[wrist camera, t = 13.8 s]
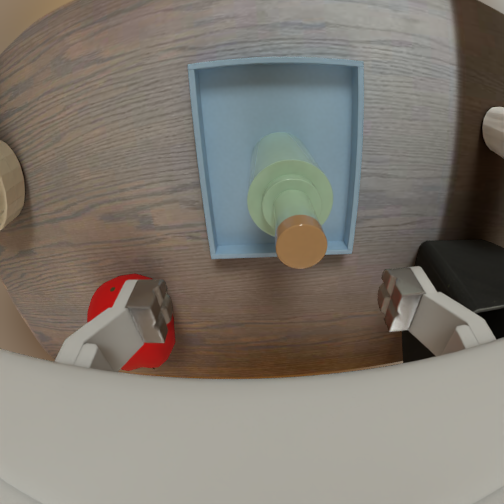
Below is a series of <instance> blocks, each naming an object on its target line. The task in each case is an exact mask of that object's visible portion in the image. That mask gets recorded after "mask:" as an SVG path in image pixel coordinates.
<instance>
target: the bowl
mask: <svg viewBox="0 0 504 504" xmlns="http://www.w3.org/2000/svg"><path fill="white" fill-rule="evenodd" d="M24 198H25V185H24V177H23V174H22V170H21V166H20V164H19V161H18V159H17V157H16V155H15V153H14V152H13V151H12V149H11V148H10V147H9V146H8V145H7V144H6V143H5V142H3V141H2V140H0V231H1V230H2V229H3V228H4V227H5V226H6V225H8V224H9V223H10V222H11V221H12V220H14V219H15V218H16V217H17V216H18V215H19V214H20V212H21V210H22V208H23V205H24Z"/></svg>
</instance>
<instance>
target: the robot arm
mask: <svg viewBox="0 0 504 504" xmlns="http://www.w3.org/2000/svg"><path fill="white" fill-rule="evenodd" d="M382 280H383V282H384V283H383V284H382V285H381V286H380V287H379V290H378V305H379V308H380V311H381V312H383V313H384V314H386V315H385V318H384V320H385V323H386V325H387V328H388V330H389V332H395V331H404V330H409V332H410V333H411V334H412V335H414V336H415V337H416V338H417V339H418V340H419V341H420V342H421V343H422V344H423V345H424V346H426V347H427V348H428V349H429V350H430V351H431V352H432V353H433V354H434V355H435V356H436V357H431V358H427V359H422V360H417V361H412V362H407V363H402V364H397V365H391V366H385V367H379V368H372V369H366V370H358V371H351V372H343V373H334V374H324V375H313V376H302V377H286V378H263V379H200V378H199V379H198V378H178V377H162V376H150V375H139V374H130V373H121V372H118V371H119V370H120V369H121V368H122V367H123V366H124V365H125V364H126V363H127V361H128V360H129V359H130V358H131V357H132V356H133V355H134V354H135V353H136V352H137V351H138V350H139V349H140V348H141V347H142V346H143V345H144V343H165V340H166V336H167V333H168V328H167V324H168V323H169V322H170V321H171V318H172V311H173V307H172V301H171V298H170V296H168V295H167V294H166V291H167V285H166V282H165V281H164V280H156V279H139V280H127V281H125V283H124V285H123V287H122V289H121V291H120V293H119V295H118V297H117V299H116V300H115V302H114V304H113V307H112V308H107V309H106V310H105V311H103V312H102V313H101V314H99V315H98V316H96V317H95V318H94V319H92V320H91V321H90V322H88V323H87V324H85V325H84V326H83V327H81V328H80V329H79V330H77V331H76V332H75V333H73V334H72V335H71V336H69V337H68V338H67V339H65V341H64V343H63V345H62V347H61V349H60V351H59V353H58V355H57V357H56V359H55V361H54V362H53V361H48V360H44V359H39V358H35V357H30V356H27V355H23V354H19V353H15V352H11V351H8V350H4V349H1V348H0V504H504V337H503V338H500V339H497V340H496V338H495V336H494V335H493V333H492V331H491V330H490V328H489V326H488V325H487V323H486V321H485V320H484V319H483V318H482V317H480V316H479V315H477V314H475V313H474V312H472V311H471V310H469V309H467V308H466V307H464V306H463V305H461V304H460V303H458V302H456V301H455V300H453V299H451V298H450V297H448V296H446V295H445V294H443V293H442V292H437V291H436V289H435V288H434V286H433V284H432V283H431V281H430V280H429V278H428V277H427V275H426V274H425V272H424V271H423V269H422V268H421V267H420V266H414V267H407V268H396V269H385V270H384V272H383V274H382Z"/></svg>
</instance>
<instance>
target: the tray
mask: <svg viewBox="0 0 504 504" xmlns="http://www.w3.org/2000/svg"><path fill="white" fill-rule="evenodd" d="M363 67H364V62H363V61H354V60H344V59H332V58H315V57H258V58H241V59H228V60H218V61H209V62H201V63H194V64H188V77H189V88H190V98H191V108H192V118H193V127H194V136H195V144H196V153H197V161H198V169H199V177H200V184H201V192H202V199H203V206H204V214H205V220H206V227H207V234H208V241H209V247H210V253H211V259H228V258H255V257H278V256H277V254H276V247H275V237H274V236H271V235H269V234H267V233H266V232H264V231H263V230H261V229H260V228H259V227H258V226H257V225H256V224H255V222H254V221H253V219H252V218H251V216H250V213H249V210H248V205H247V195H248V184H249V173H250V162H251V154H252V151H253V148H254V146H255V145H256V144H257V142H258V141H259V140H260V139H261V138H263V137H264V136H266V135H268V134H271V133H275V132H285V133H289V134H292V135H294V136H296V137H297V138H299V139H300V140H301V141H302V142H303V143H304V145H305V146H306V148H307V149H308V151H309V152H310V153H311V155H312V156H313V158H314V159H315V161H316V162H317V164H318V165H319V167H320V168H321V169H322V171H323V172H324V174H325V176H326V177H327V179H328V180H329V182H330V184H331V187H332V191H333V206H332V209H331V212H330V214H329V216H328V218H327V220H326V221H325V222H324V224H323V225H322V228H323V230H324V233H325V236H326V238H327V251H326V253H325V255H332V254H352V249H353V241H354V234H355V226H356V217H357V208H358V198H359V188H360V176H361V162H362V145H363V121H364V68H363Z"/></svg>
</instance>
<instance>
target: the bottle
mask: <svg viewBox="0 0 504 504" xmlns="http://www.w3.org/2000/svg"><path fill="white" fill-rule="evenodd" d="M247 205H248V210H249V213H250V216H251V218H252V219H253V221H254V222H255V224H256V225H257V226H258V227H259V228H260V229H261V230H263V231H264V232H266V233H267V234H269V235H271V236H274V237H275V247H276V254H277V256H278V258H279V259H280V260H281V262H283V263H284V264H285V265H287V266H289V267H291V268H296V269H304V268H309V267H311V266H314V265H315V264H317V263H318V262H319V261H320V260H321V259H322V258H323V257H324V255H325V253H326V251H327V238H326V236H325V233H324V230H323V228H322V225H323V224H324V222H325V221H326V220H327V218H328V216H329V214H330V212H331V209H332V206H333V191H332V187H331V184H330V182H329V180H328V179H327V177H326V176H325V174H324V172H323V171H322V169H321V168H320V167H319V165H318V164H317V162H316V161H315V159H314V158H313V156H312V155H311V153H310V152H309V151H308V149H307V148H306V146H305V145H304V143H303V142H302V141H301V140H300V139H299V138H297V137H296V136H294V135H292V134H289V133H285V132H275V133H271V134H268V135H266V136H264V137H263V138H261V139H260V140H259V141H258V142H257V144H256V145H255V146H254V148H253V151H252V154H251V162H250V173H249V184H248V195H247Z"/></svg>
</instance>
